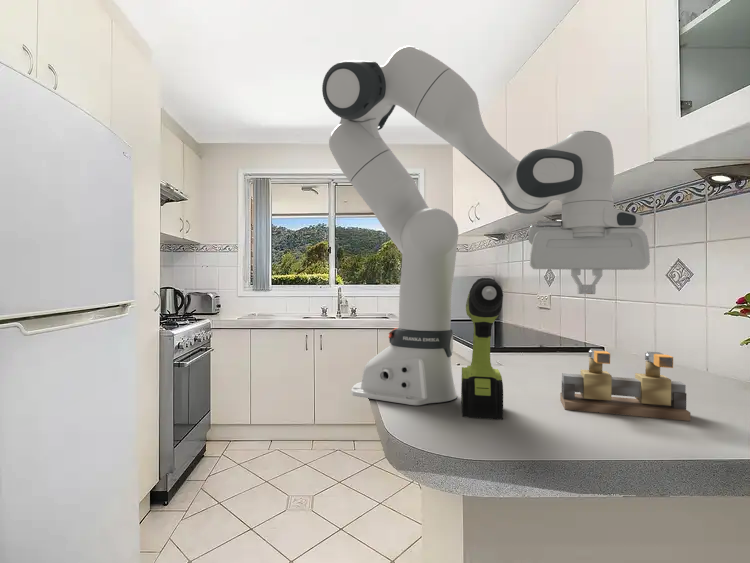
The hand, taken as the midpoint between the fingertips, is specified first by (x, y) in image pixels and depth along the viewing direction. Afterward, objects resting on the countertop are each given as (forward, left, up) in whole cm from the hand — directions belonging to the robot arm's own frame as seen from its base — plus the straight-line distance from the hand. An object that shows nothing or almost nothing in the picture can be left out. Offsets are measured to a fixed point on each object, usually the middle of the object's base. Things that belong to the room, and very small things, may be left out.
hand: (586, 294), depth 84 cm
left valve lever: (+3, +3, -13) cm, 13 cm away
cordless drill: (-18, -9, -23) cm, 30 cm away
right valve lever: (+13, +3, -13) cm, 18 cm away
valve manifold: (+7, +6, -23) cm, 25 cm away
